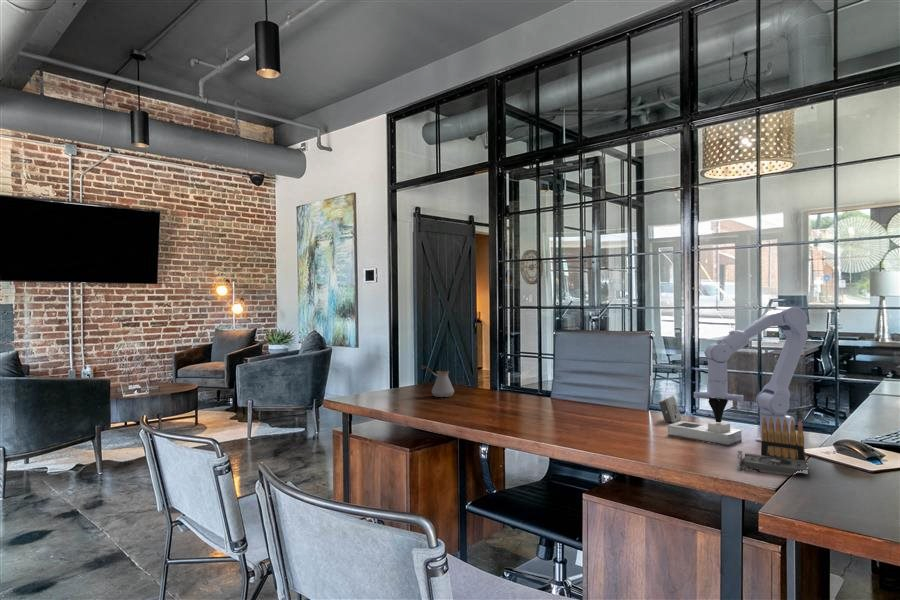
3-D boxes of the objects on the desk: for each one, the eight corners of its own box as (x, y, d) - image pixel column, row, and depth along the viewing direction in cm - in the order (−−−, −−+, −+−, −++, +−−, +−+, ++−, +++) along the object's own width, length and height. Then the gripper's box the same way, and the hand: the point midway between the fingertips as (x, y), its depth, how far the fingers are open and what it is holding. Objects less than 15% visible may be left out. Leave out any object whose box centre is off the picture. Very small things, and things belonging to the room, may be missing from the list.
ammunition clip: (760, 458, 156) (759, 416, 157) (762, 456, 158) (761, 415, 158) (804, 464, 150) (803, 421, 150) (805, 463, 151) (804, 420, 151)
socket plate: (741, 440, 176) (741, 430, 176) (728, 446, 170) (728, 435, 170) (682, 430, 192) (681, 420, 192) (667, 435, 185) (667, 425, 185)
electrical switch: (674, 423, 203) (671, 399, 204) (660, 423, 206) (657, 399, 207) (681, 419, 211) (678, 395, 211) (668, 419, 214) (665, 395, 214)
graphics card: (734, 460, 144) (737, 449, 154) (734, 474, 144) (737, 462, 154) (809, 470, 135) (808, 457, 145) (809, 485, 135) (808, 471, 145)
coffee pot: (459, 396, 272) (458, 367, 272) (442, 399, 264) (441, 369, 264) (431, 392, 288) (430, 364, 288) (414, 395, 280) (414, 366, 280)
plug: (730, 439, 176) (730, 423, 176) (720, 441, 174) (720, 425, 174) (718, 436, 180) (717, 421, 180) (708, 438, 178) (707, 423, 178)
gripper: (744, 380, 176) (745, 422, 176) (696, 377, 185) (697, 417, 184) (741, 383, 171) (742, 426, 170) (692, 380, 179) (692, 421, 179)
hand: (718, 421), depth 177 cm, fingers closed
